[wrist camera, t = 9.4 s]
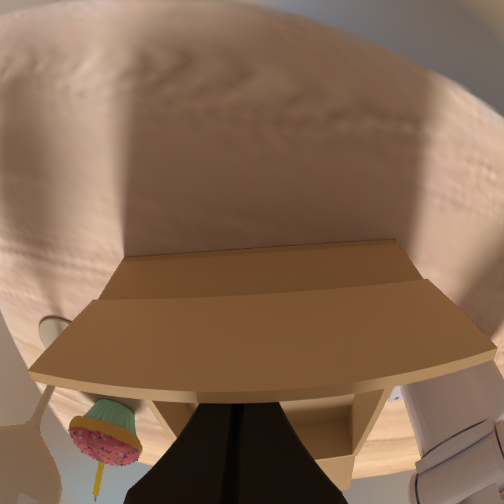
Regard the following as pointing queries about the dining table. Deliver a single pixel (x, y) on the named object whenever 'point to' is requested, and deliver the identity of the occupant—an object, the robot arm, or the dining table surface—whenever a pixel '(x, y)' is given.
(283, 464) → the robot arm
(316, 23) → the dining table surface
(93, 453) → the cupcake
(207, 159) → the dining table surface
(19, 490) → the wineglass
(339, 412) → the carton
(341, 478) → the flap
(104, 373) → the flap
